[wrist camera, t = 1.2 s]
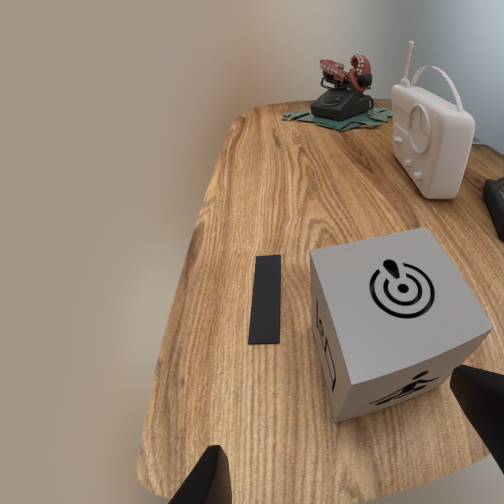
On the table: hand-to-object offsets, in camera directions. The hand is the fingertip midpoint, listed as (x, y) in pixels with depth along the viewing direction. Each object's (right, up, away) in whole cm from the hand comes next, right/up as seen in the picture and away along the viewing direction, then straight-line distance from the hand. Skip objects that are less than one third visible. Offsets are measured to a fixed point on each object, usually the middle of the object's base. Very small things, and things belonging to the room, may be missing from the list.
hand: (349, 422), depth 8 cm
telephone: (+26, +49, +68) cm, 87 cm away
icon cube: (+8, -4, +14) cm, 17 cm away
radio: (+27, +20, +35) cm, 49 cm away
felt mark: (-2, +1, +22) cm, 22 cm away
